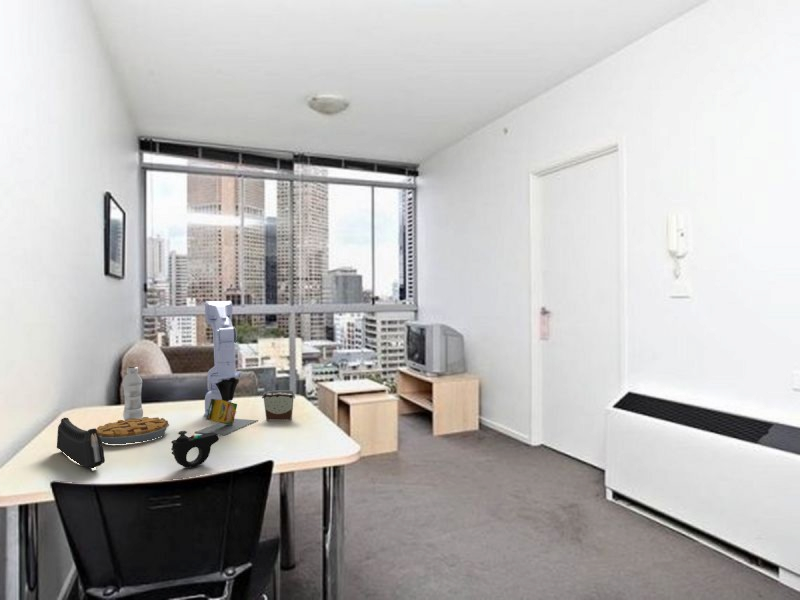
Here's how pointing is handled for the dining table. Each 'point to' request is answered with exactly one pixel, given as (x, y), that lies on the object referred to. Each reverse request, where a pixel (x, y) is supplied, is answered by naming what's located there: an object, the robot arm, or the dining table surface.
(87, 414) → the dining table surface
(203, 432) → the rubber mat
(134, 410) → the plastic bottle
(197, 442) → the controller
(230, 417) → the crayon box
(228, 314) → the robot arm
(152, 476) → the dining table surface
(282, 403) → the food container
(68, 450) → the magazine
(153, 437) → the pie
